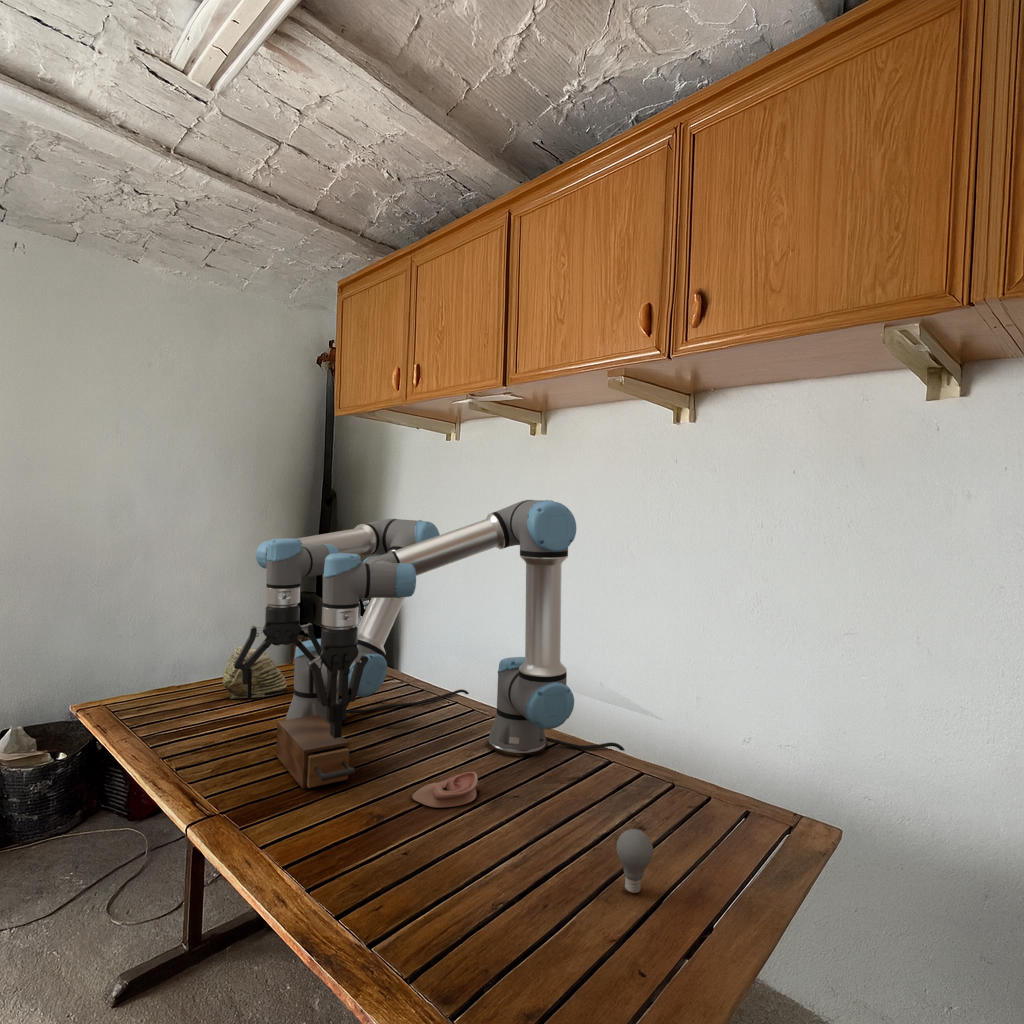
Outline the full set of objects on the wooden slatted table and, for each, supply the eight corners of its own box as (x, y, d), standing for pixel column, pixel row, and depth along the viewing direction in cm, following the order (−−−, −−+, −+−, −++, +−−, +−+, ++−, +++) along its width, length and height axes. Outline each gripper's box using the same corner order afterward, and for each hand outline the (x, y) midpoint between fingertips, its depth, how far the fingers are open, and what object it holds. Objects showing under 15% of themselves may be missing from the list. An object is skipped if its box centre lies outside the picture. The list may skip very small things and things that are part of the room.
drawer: (358, 789, 136) (359, 758, 136) (317, 799, 131) (318, 767, 131) (318, 749, 156) (319, 722, 156) (282, 756, 151) (283, 728, 151)
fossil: (218, 695, 195) (220, 647, 195) (278, 685, 208) (279, 640, 207) (228, 703, 189) (230, 653, 188) (289, 692, 201) (290, 645, 201)
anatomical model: (407, 784, 132) (425, 763, 143) (406, 803, 132) (424, 780, 143) (468, 793, 129) (482, 770, 140) (467, 812, 129) (481, 788, 141)
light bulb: (610, 879, 108) (613, 822, 108) (644, 879, 109) (647, 822, 109) (619, 902, 102) (622, 840, 102) (655, 901, 103) (658, 840, 103)
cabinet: (347, 779, 143) (348, 741, 142) (302, 789, 137) (304, 750, 137) (316, 747, 159) (318, 714, 159) (276, 755, 153) (277, 721, 153)
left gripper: (224, 610, 139) (222, 705, 140) (340, 605, 150) (337, 694, 150) (224, 604, 146) (221, 695, 147) (334, 600, 157) (332, 685, 157)
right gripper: (315, 632, 128) (311, 747, 129) (375, 626, 136) (371, 736, 136) (303, 625, 134) (299, 735, 135) (362, 620, 142) (357, 725, 142)
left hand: (280, 694), depth 148 cm, fingers open, 13 cm apart
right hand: (335, 735), depth 135 cm, fingers closed
